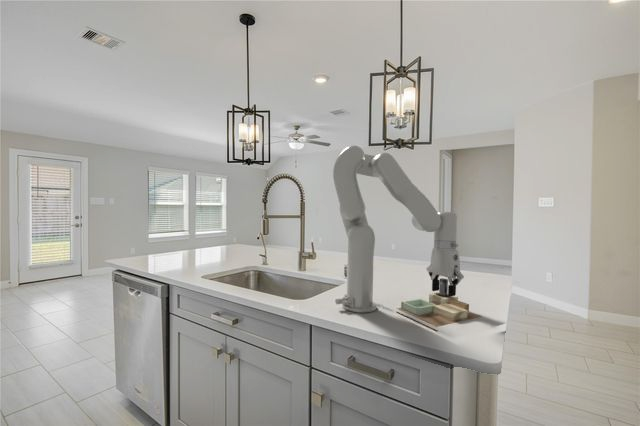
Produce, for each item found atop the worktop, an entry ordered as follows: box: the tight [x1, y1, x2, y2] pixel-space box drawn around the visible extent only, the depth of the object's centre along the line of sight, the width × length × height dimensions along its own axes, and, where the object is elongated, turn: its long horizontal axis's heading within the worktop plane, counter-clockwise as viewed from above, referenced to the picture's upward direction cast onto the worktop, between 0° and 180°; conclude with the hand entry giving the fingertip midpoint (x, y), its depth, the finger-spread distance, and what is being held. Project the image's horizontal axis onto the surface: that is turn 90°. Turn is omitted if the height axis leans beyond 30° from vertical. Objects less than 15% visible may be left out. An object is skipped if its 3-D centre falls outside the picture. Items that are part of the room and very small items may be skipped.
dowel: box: [438, 277, 449, 297], centre depth 111 cm, size 3×3×10 cm
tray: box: [400, 298, 436, 316], centre depth 106 cm, size 9×8×2 cm
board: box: [396, 299, 483, 332], centre depth 105 cm, size 22×18×6 cm
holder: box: [428, 292, 459, 305], centre depth 111 cm, size 7×7×4 cm
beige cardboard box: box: [433, 303, 468, 321], centre depth 102 cm, size 7×8×2 cm
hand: (443, 292), depth 111 cm, fingers open, 6 cm apart
